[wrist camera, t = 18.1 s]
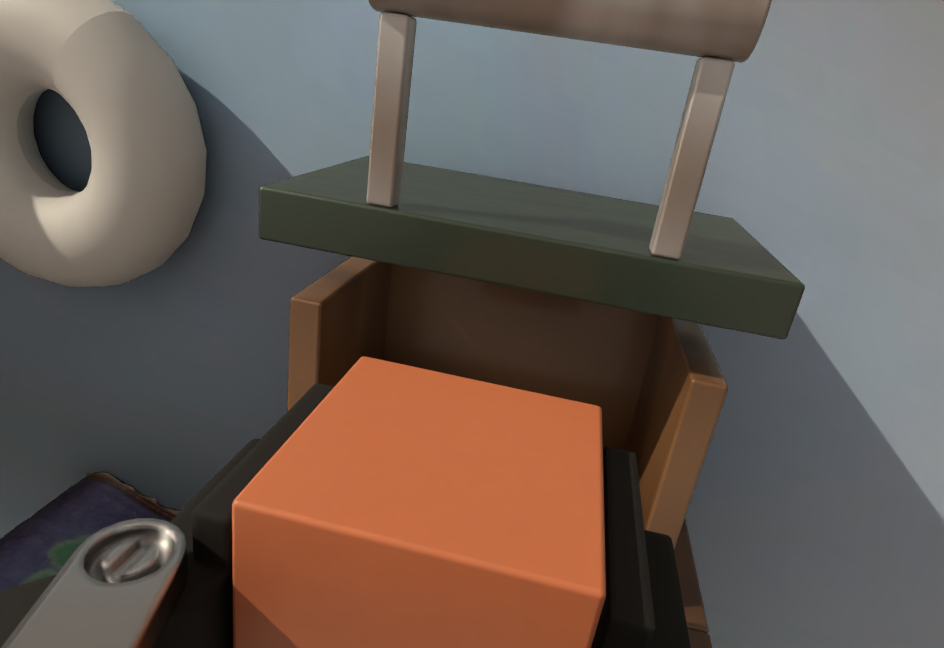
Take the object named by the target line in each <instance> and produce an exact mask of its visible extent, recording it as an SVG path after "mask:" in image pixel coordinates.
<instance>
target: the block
mask: <svg viewBox="0 0 944 648" xmlns="http://www.w3.org/2000/svg"><path fill="white" fill-rule="evenodd" d="M232 566H233V648H591V646H592V642H593V639H594V636H595V632H596V629H597V625H598V622H599V618H600V615H601V612H602V608H603V605H604V601H605V598H606V570H605V526H604V482H603V438H602V409H601V407H599V406H596V405H591V404H587V403H582V402H577V401H573V400H568V399H563V398H558V397H554V396H549V395H544V394H540V393H535V392H530V391H526V390H521V389H516V388H511V387H507V386H502V385H497V384H493V383H488V382H483V381H478V380H474V379H469V378H464V377H460V376H455V375H450V374H446V373H441V372H436V371H431V370H427V369H422V368H417V367H413V366H408V365H403V364H398V363H394V362H389V361H384V360H380V359H375V358H370V357H366V356H364V357H361V358H360V359H359V360H358V361H357V362H356V363H355V364H354V365H353V367H352V368H351V369H350V370H349V371H348V372H347V373H346V374H345V376H344V377H343V378H342V379H341V380H340V381H339V382H338V383H337V385H336V386H335V387H334V388H333V389H332V390H331V391H330V392H329V394H328V395H327V396H326V397H325V398H324V399H323V400H322V401H321V403H320V404H319V405H318V406H317V407H316V408H315V409H314V410H313V412H312V413H311V414H310V415H309V416H308V417H307V418H306V419H305V421H304V422H303V423H302V424H301V425H300V426H299V427H298V428H297V430H296V431H295V432H294V433H293V434H292V435H291V436H290V437H289V439H288V440H287V441H286V442H285V443H284V444H283V445H282V446H281V448H280V449H279V450H278V451H277V452H276V453H275V454H274V455H273V457H272V458H271V459H270V460H269V461H268V462H267V463H266V464H265V466H264V467H263V468H262V469H261V470H260V471H259V472H258V473H257V475H256V476H255V477H254V478H253V479H252V480H251V481H250V482H249V484H248V485H247V486H246V487H245V488H244V489H243V490H242V491H241V493H240V494H239V495H238V496H237V497H236V498H235V499H234V501H233V504H232Z"/></svg>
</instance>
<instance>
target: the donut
mask: <svg viewBox="0 0 944 648" xmlns="http://www.w3.org/2000/svg"><path fill="white" fill-rule="evenodd" d="M47 89H51V90H54V91H56V92H57V93H59V94H60V95H61V96H62V97H63V98H64V99H65V100H66V101H67V102H68V103H69V104H70V106H71V107H72V108H73V109H74V110H75V112H76V113H77V115H78V117H79V119H80V121H81V122H82V124H83V126H84V128H85V130H86V133H87V137H88V140H89V143H90V147H91V158H92V170H91V174H90V177H89V180H88V184H87V186H86V187H85V189H84V190H83V191H81V192H77V191H73V190H71V189H70V188H68V187H67V186H65V185H63V184H62V183H61V182H60V181H59V180H58V179H57V178H56V177H55V176H54V175H53V173H52V172H51V171H50V170H49V169H48V167H47V165H46V164H45V162H44V160H43V159H42V157H41V155H40V153H39V150H38V146H37V143H36V140H35V137H34V129H33V115H34V111H35V107H36V102H37V100H38V99H39V97H40V96H41V94H42V93H43V92H44V91H46V90H47ZM206 154H207V151H206V147H205V142H204V138H203V133H202V129H201V125H200V120H199V116H198V111H197V107H196V104H195V102H194V100H193V98H192V96H191V94H190V93H189V91H188V89H187V87H186V85H185V83H184V81H183V79H182V77H181V75H180V73H179V71H178V69H177V67H176V65H175V63H174V61H173V60H172V59H171V58H170V57H169V55H168V54H167V53H166V52H165V51H164V50H163V49H162V48H161V46H160V45H159V44H158V43H157V42H156V41H155V40H154V39H153V37H152V36H151V35H150V34H149V33H148V32H147V31H146V29H145V28H144V27H143V26H142V25H141V24H140V23H139V22H138V20H137V19H136V18H135V17H134V16H133V15H131V14H130V13H128V12H127V11H125V10H124V9H122V8H121V7H119V6H117V5H116V4H114V3H113V2H111V1H110V0H0V258H1V259H2V260H4V261H5V262H7V263H9V264H10V265H12V266H13V267H15V268H17V269H18V270H20V271H22V272H23V273H25V274H28V275H31V276H35V277H38V278H42V279H45V280H48V281H52V282H55V283H58V284H62V285H66V286H71V287H95V286H114V285H119V284H124V283H126V282H128V281H130V280H132V279H135V278H137V277H139V276H141V275H144V274H146V273H148V272H150V271H153V270H155V269H156V268H158V267H159V266H161V265H162V264H163V263H164V262H165V261H166V260H167V259H168V258H169V257H170V256H171V255H172V254H173V253H174V252H175V250H176V249H177V248H178V247H179V246H180V245H181V244H182V243H183V242H184V241H185V240H186V239H187V237H188V236H189V233H190V231H191V228H192V225H193V223H194V220H195V218H196V215H197V212H198V210H199V207H200V205H201V202H202V200H203V197H204V193H205V174H206Z"/></svg>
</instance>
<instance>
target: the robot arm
mask: <svg viewBox="0 0 944 648" xmlns="http://www.w3.org/2000/svg"><path fill="white" fill-rule="evenodd" d="M333 388H334V387H333V386H328V385H324V384H319V383H316V384H314V385H313V386H312V387H311V388H310V389H309V390H308V391H307V392H306V393H305V394H304V395H303V396H302V398H301V399H300V400H299V401H298V402H297V403H296V404H295V405H294V406H293V407H292V408H291V409H290V410H289V411H288V412H287V413H286V414H285V415H284V416H283V417H282V418H281V419H280V420H279V421H278V422H277V423H276V424H275V425H274V426H273V428H272V429H271V430H270V431H269V432H268V433H267V434H266V435H265V436H264V437H263V438H262V439H261V440H260V439H255V440H252V441H251V442H250V443H248V444H247V445H246V446H245V447H244V448H243V449H242V450H241V451H240V452H239V453H238V454H237V455H236V456H235V457H234V458H233V459H232V460H231V461H230V462H229V463H228V464H227V465H226V466H225V467H224V468H223V469H222V470H221V471H220V472H219V473H218V474H217V475H216V476H215V477H214V478H213V479H212V480H211V481H210V482H209V483H208V484H207V485H206V486H205V487H204V488H203V489H202V490H201V491H200V492H199V493H198V494H197V495H196V496H195V497H194V499H193V500H192V501H191V502H190V503H189V504H188V505H187V506H186V507H185V508H184V509H183V510H182V511H181V512H180V513H179V514H178V515H177V516H176V517H175V518H174V519H173V520H172V521H171V522H168V521H165V520H160V519H154V518H136V519H131V520H126V521H122V522H118V523H115V524H113V525H110V526H108V527H105V528H103V529H101V530H99V531H98V532H96V533H94V534H93V535H91V536H90V537H88V538H87V539H86V540H85V541H84V542H83V543H82V544H81V545H80V546H79V547H78V548H77V549H76V550H75V552H74V553H73V554H72V555H71V557H70V558H69V559H68V561H67V562H66V563H65V565H64V566H63V567H62V569H61V570H60V571H59V572H58V574H57V575H53V576H50V577H46V578H42V579H39V580H35V581H32V582H28V583H25V584H21V585H17V586H14V587H10V588H7V589H3V590H0V648H233V566H232V504H233V501H234V499H235V498H236V497H237V496H238V495H239V494H240V493H241V491H242V490H243V489H244V488H245V487H246V486H247V485H248V484H249V482H250V481H251V480H252V479H253V478H254V477H255V476H256V475H257V473H258V472H259V471H260V470H261V469H262V468H263V467H264V466H265V464H266V463H267V462H268V461H269V460H270V459H271V458H272V457H273V455H274V454H275V453H276V452H277V451H278V450H279V449H280V448H281V446H282V445H283V444H284V443H285V442H286V441H287V440H288V439H289V437H290V436H291V435H292V434H293V433H294V432H295V431H296V430H297V428H298V427H299V426H300V425H301V424H302V423H303V422H304V421H305V419H306V418H307V417H308V416H309V415H310V414H311V413H312V412H313V410H314V409H315V408H316V407H317V406H318V405H319V404H320V403H321V401H322V400H323V399H324V398H325V397H326V396H327V395H328V394H329V392H330V391H331V390H332V389H333ZM603 482H604V526H605V570H606V598H605V601H604V605H603V608H602V612H601V615H600V618H599V622H598V625H597V629H596V632H595V636H594V639H593V642H592V646H591V648H691V646H690V640H689V634H688V629H687V623H686V617H685V611H684V605H683V600H682V594H681V588H680V582H679V576H678V571H677V565H676V559H675V553H674V547H673V543H672V539H671V537H670V536H669V535H665V534H661V533H656V532H652V531H648V530H644V522H643V514H642V505H641V496H640V487H639V478H638V469H637V460H636V454H635V453H632V452H628V451H623V450H619V449H614V448H610V447H604V449H603Z"/></svg>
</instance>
